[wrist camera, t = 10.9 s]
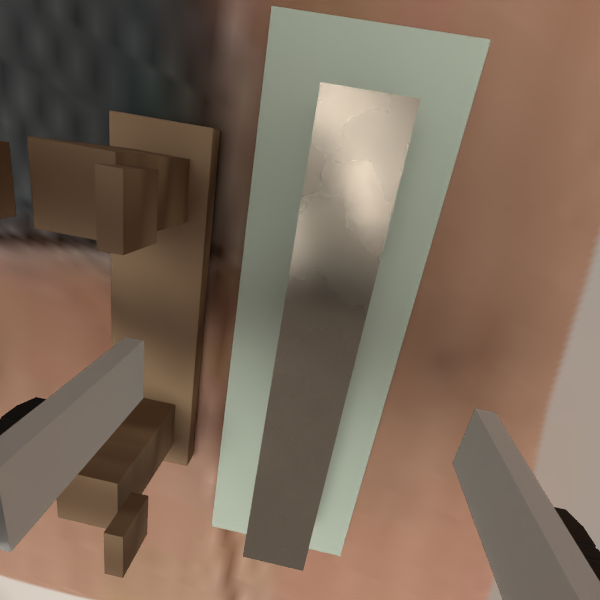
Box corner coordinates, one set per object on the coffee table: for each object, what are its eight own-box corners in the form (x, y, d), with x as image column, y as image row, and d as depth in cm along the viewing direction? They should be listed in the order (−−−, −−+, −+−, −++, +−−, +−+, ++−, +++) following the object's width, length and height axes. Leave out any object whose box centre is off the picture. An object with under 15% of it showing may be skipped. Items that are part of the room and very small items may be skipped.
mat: (275, 13, 16) (271, 5, 15) (483, 46, 15) (490, 39, 15) (215, 515, 26) (211, 525, 25) (340, 544, 26) (340, 556, 25)
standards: (112, 111, 18) (-94, 56, 10) (229, 132, 18) (123, 93, 9) (115, 437, 25) (-4, 573, 16) (199, 456, 24) (122, 605, 16)
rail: (325, 100, 16) (320, 82, 13) (404, 114, 16) (420, 98, 13) (256, 504, 24) (243, 556, 21) (308, 516, 24) (303, 570, 21)
